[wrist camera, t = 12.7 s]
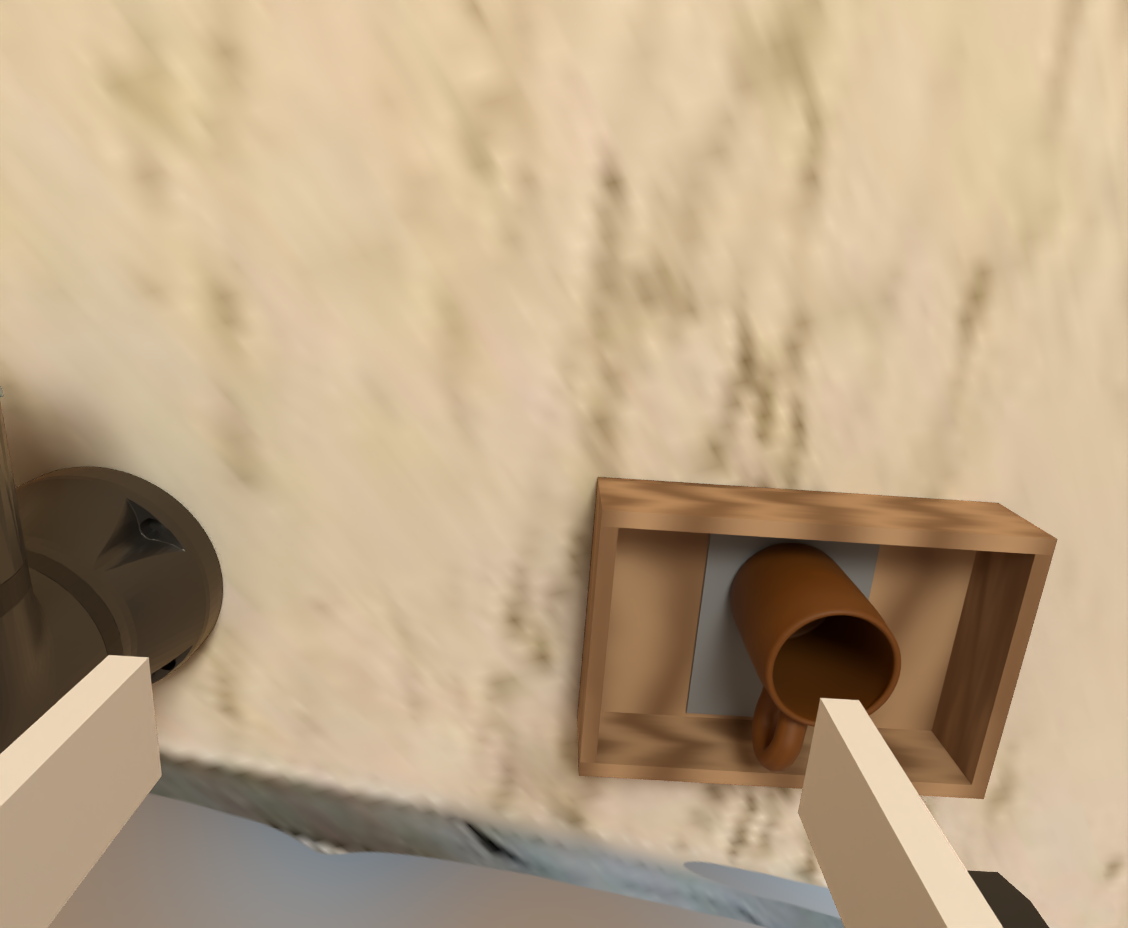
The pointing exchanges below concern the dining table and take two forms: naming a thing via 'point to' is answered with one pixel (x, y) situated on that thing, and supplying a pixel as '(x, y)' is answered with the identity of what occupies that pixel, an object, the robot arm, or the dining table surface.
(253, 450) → the dining table surface
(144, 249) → the dining table surface
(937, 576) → the crate
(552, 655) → the dining table surface
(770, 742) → the mug
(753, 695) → the pad
